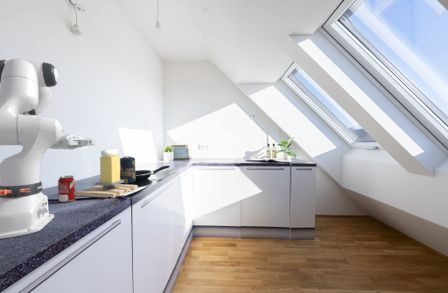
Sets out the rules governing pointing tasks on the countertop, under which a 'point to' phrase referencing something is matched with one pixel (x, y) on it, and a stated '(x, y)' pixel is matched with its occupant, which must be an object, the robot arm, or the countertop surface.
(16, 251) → the countertop surface
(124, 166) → the canister
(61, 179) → the soda can
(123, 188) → the wooden slatted trivet
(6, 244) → the countertop surface
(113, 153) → the yellow boxy piece
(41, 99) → the robot arm
